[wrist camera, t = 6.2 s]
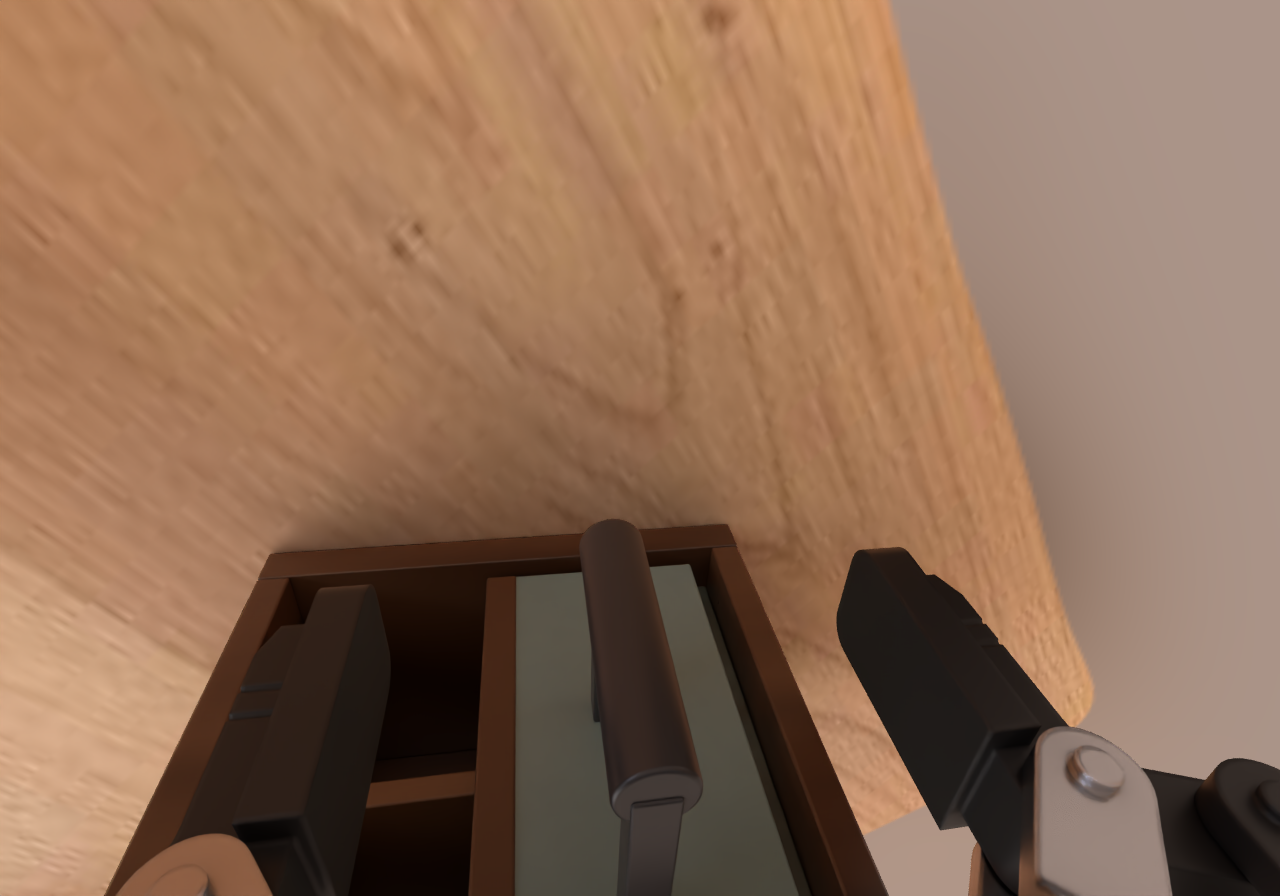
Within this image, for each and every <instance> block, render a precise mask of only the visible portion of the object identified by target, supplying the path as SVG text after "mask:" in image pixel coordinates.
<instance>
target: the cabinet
mask: <svg viewBox="0 0 1280 896" xmlns="http://www.w3.org/2000/svg"><path fill="white" fill-rule="evenodd" d="M639 532H640V533H641V536H642V540H643V544H644V548H645V552H646V556H647V560H648V564H649V567H656V566H670V565H683V564H689V565H690V566H691V569H692V572H693V575H694V578H695V581H696V584H697V587H698V590H699V593H700V597H701V600H702V603H703V606H704V609H705V612H706V615H707V618H708V621H709V624H710V627H711V630H712V633H713V636H714V639H715V642H716V645H717V648H718V651H719V654H720V657H721V660H722V663H723V666H724V669H725V672H726V675H727V678H728V681H729V685H730V688H731V691H732V694H733V697H734V700H735V703H736V706H737V709H738V712H739V715H740V718H741V721H742V724H743V727H744V730H745V733H746V736H747V739H748V742H749V745H750V748H751V751H752V754H753V757H754V760H755V763H756V766H757V769H758V773H759V776H760V779H761V782H762V785H763V788H764V791H765V794H766V797H767V800H768V803H769V806H770V809H771V812H772V815H773V818H774V821H775V824H776V827H777V830H778V833H779V836H780V839H781V842H782V845H783V848H784V851H785V854H786V857H787V861H788V864H789V867H790V870H791V873H792V876H793V879H794V882H795V885H796V888H797V891H798V894H799V896H889V895H888V893H887V890H886V888H885V885H884V883H883V881H882V879H881V876H880V874H879V872H878V870H877V867H876V865H875V863H874V860H873V858H872V856H871V853H870V851H869V849H868V846H867V844H866V842H865V840H864V837H863V835H862V833H861V830H860V828H859V826H858V823H857V821H856V819H855V817H854V814H853V812H852V810H851V807H850V805H849V803H848V800H847V798H846V796H845V794H844V791H843V789H842V787H841V784H840V782H839V780H838V777H837V775H836V773H835V771H834V768H833V766H832V764H831V761H830V759H829V757H828V754H827V752H826V750H825V748H824V745H823V743H822V741H821V738H820V736H819V734H818V731H817V729H816V727H815V725H814V722H813V720H812V718H811V715H810V713H809V711H808V709H807V706H806V704H805V702H804V699H803V697H802V695H801V692H800V690H799V688H798V686H797V683H796V681H795V679H794V676H793V674H792V672H791V669H790V667H789V665H788V663H787V660H786V658H785V656H784V653H783V651H782V649H781V646H780V644H779V642H778V640H777V637H776V635H775V633H774V630H773V628H772V626H771V623H770V621H769V619H768V617H767V614H766V612H765V610H764V607H763V605H762V603H761V600H760V598H759V596H758V594H757V591H756V589H755V587H754V584H753V582H752V580H751V577H750V575H749V573H748V571H747V568H746V566H745V564H744V561H743V559H742V557H741V554H740V552H739V550H738V548H737V544H736V542H735V540H734V537H733V535H732V533H731V530H730V528H729V526H728V525H727V524H725V525H710V526H694V527H679V528H664V529H648V530H639ZM582 536H583V534H571V535H556V536H540V537H525V538H509V539H494V540H479V541H463V542H448V543H432V544H417V545H402V546H386V547H371V548H355V549H340V550H325V551H309V552H294V553H278V554H270V555H269V557H268V559H267V561H266V563H265V565H264V567H263V569H262V571H261V573H260V575H259V577H258V581H257V582H256V584H255V587H254V589H253V591H252V593H251V595H250V597H249V599H248V601H247V603H246V605H245V607H244V609H243V611H242V613H241V615H240V617H239V619H238V621H237V624H236V626H235V628H234V630H233V632H232V634H231V636H230V638H229V640H228V642H227V644H226V646H225V648H224V650H223V652H222V654H221V656H220V658H219V660H218V663H217V665H216V667H215V669H214V671H213V673H212V675H211V677H210V679H209V681H208V683H207V685H206V687H205V689H204V691H203V693H202V695H201V697H200V700H199V702H198V704H197V706H196V708H195V710H194V712H193V714H192V716H191V718H190V720H189V722H188V724H187V726H186V728H185V730H184V732H183V734H182V737H181V739H180V741H179V743H178V745H177V747H176V749H175V751H174V753H173V755H172V757H171V759H170V761H169V763H168V765H167V767H166V769H165V771H164V774H163V776H162V778H161V780H160V782H159V784H158V786H157V788H156V790H155V792H154V794H153V796H152V798H151V800H150V802H149V804H148V806H147V808H146V811H145V813H144V815H143V817H142V819H141V821H140V823H139V825H138V827H137V829H136V831H135V833H134V835H133V837H132V839H131V841H130V843H129V845H128V847H127V850H126V852H125V854H124V856H123V858H122V860H121V862H120V864H119V866H118V868H117V870H116V872H115V874H114V876H113V878H112V880H111V882H110V884H109V887H108V889H107V891H106V893H105V895H104V896H116V895H117V893H118V892H119V891H120V889H121V888H122V887H123V885H124V884H125V883H126V882H127V881H128V880H129V879H130V877H131V876H132V875H133V874H134V873H135V872H136V871H137V870H138V869H140V868H141V867H142V866H143V865H144V864H145V863H146V862H148V861H149V860H150V859H152V858H153V857H154V856H156V855H157V854H159V853H160V852H162V851H163V850H165V849H167V848H168V847H169V846H170V844H171V843H172V841H173V840H174V838H175V836H176V834H177V832H178V830H179V828H180V826H181V824H182V821H183V819H184V817H185V814H186V812H187V810H188V807H189V805H190V803H191V801H192V798H193V796H194V794H195V791H196V789H197V787H198V784H199V782H200V780H201V777H202V775H203V773H204V770H205V768H206V766H207V764H208V761H209V759H210V757H211V754H212V752H213V750H214V747H215V745H216V743H217V740H218V738H219V736H220V733H221V731H222V729H223V727H224V724H225V722H226V721H228V720H229V713H230V710H231V708H232V706H233V703H234V701H235V699H236V696H237V694H239V693H240V692H241V685H242V683H243V680H244V678H245V676H246V673H247V671H248V669H249V666H250V664H251V662H252V659H253V657H254V655H255V654H256V653H257V652H258V651H259V649H260V648H261V647H262V646H263V645H264V644H265V643H266V642H267V641H268V640H269V639H270V638H271V637H272V636H273V634H274V633H275V632H276V631H277V630H278V629H279V628H280V627H281V626H287V625H299V624H305V622H306V619H307V617H308V614H309V611H310V608H311V606H312V603H313V600H314V598H315V595H316V593H317V592H318V590H319V589H321V588H328V587H342V586H356V585H369V584H371V585H373V586H374V588H375V590H376V594H377V598H378V602H379V607H380V611H381V616H382V620H383V624H384V629H385V633H386V638H387V642H388V647H389V651H390V661H391V678H390V688H389V694H388V699H387V704H386V709H385V714H384V719H383V724H382V729H381V734H380V739H379V744H378V749H377V754H376V759H375V764H374V769H373V774H372V779H371V784H370V789H369V794H368V799H367V804H366V809H365V814H364V819H363V824H362V829H361V834H360V839H359V844H358V849H357V854H356V859H355V864H354V869H353V874H352V879H351V884H350V889H349V894H348V896H468V891H469V874H470V857H471V840H472V823H473V806H474V789H475V773H476V756H477V739H478V722H479V705H480V688H481V671H482V654H483V637H484V620H485V603H486V586H487V579H488V578H492V577H506V576H516V577H521V576H535V575H548V574H562V573H575V572H582V567H581V559H580V551H579V544H580V540H581V538H582Z"/></svg>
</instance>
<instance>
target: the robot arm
mask: <svg viewBox="0 0 1280 896" xmlns="http://www.w3.org/2000/svg"><path fill="white" fill-rule="evenodd" d="M837 632H838V637H839V640H840V643H841V646H842V648H843V650H844V652H845V654H846V656H847V658H848V660H849V661H850V663H851V665H852V667H853V669H854V671H855V673H856V674H857V676H858V678H859V680H860V682H861V684H862V686H863V687H864V689H865V691H866V693H867V695H868V697H869V699H870V701H871V702H872V704H873V706H874V708H875V710H876V712H877V714H878V715H879V717H880V719H881V721H882V723H883V725H884V727H885V729H886V730H887V732H888V734H889V736H890V738H891V740H892V742H893V743H894V745H895V747H896V749H897V751H898V753H899V755H900V756H901V758H902V760H903V762H904V764H905V766H906V768H907V770H908V771H909V773H910V775H911V777H912V779H913V781H914V783H915V784H916V786H917V788H918V790H919V792H920V794H921V796H922V797H923V799H924V801H925V803H926V805H927V807H928V809H929V810H930V812H931V814H932V816H933V818H934V820H935V822H936V823H937V825H938V827H939V829H940V830H945V829H952V828H958V827H965V826H969V828H970V830H971V832H972V833H973V835H974V837H975V839H976V840H977V843H976V845H975V847H974V849H973V853H972V859H971V870H970V883H969V893H968V896H1280V770H1279V769H1277V768H1275V767H1272V766H1269V765H1267V764H1264V763H1261V762H1257V761H1254V760H1248V759H1243V758H1233V759H1228V760H1225V761H1223V762H1221V763H1220V764H1219V765H1218V766H1217V767H1216V768H1215V769H1214V771H1213V772H1212V773H1211V774H1210V775H1209V776H1208V778H1207V779H1206V780H1202V779H1197V778H1192V777H1186V776H1181V775H1175V774H1170V773H1164V772H1160V771H1155V770H1149V769H1144V768H1141V767H1140V766H1139V765H1138V764H1137V763H1136V762H1135V761H1134V760H1133V759H1132V758H1131V757H1130V756H1129V755H1128V754H1126V753H1125V752H1124V751H1123V750H1122V749H1120V748H1119V747H1117V746H1116V745H1114V744H1113V743H1111V742H1110V741H1108V740H1106V739H1104V738H1103V737H1101V736H1099V735H1096V734H1094V733H1092V732H1089V731H1086V730H1083V729H1079V728H1075V727H1069V726H1068V725H1067V723H1066V722H1065V721H1064V720H1063V719H1062V718H1061V716H1060V715H1059V714H1058V713H1057V711H1056V710H1055V709H1054V708H1053V706H1052V705H1051V704H1050V703H1049V701H1048V700H1047V699H1046V698H1045V697H1044V695H1043V694H1042V693H1041V692H1040V690H1039V689H1038V688H1037V687H1036V685H1035V684H1034V683H1033V682H1032V680H1031V679H1030V678H1029V677H1028V675H1027V674H1026V673H1025V672H1024V670H1023V669H1022V668H1021V667H1020V666H1019V664H1018V663H1017V662H1016V661H1015V659H1014V658H1013V657H1012V656H1011V654H1010V653H1009V652H1008V651H1007V649H1006V648H1005V647H1004V646H1003V645H1000V644H999V643H998V638H997V637H996V636H995V635H994V633H993V632H992V631H991V630H990V628H989V627H988V626H987V625H986V624H983V623H982V618H981V617H980V616H979V615H978V613H977V612H976V611H975V610H974V608H973V607H972V606H971V605H970V604H969V602H968V601H967V600H966V599H965V597H964V596H963V595H962V594H961V593H959V592H958V591H957V590H955V589H954V588H952V587H951V586H950V585H948V584H947V583H946V582H944V581H943V580H941V579H940V578H939V577H937V576H936V575H935V574H933V575H926V574H925V573H924V572H923V570H922V569H921V568H920V566H919V565H918V564H917V562H916V561H915V560H914V559H913V557H912V556H911V555H910V553H909V552H908V551H907V550H905V549H904V548H901V547H893V548H879V549H866V550H859V551H857V552H856V553H855V554H854V556H853V558H852V562H851V565H850V569H849V572H848V576H847V579H846V583H845V586H844V590H843V593H842V597H841V600H840V604H839V607H838V611H837ZM390 678H391V661H390V651H389V647H388V642H387V638H386V633H385V629H384V624H383V620H382V616H381V611H380V607H379V602H378V598H377V594H376V590H375V588H374V586H373V585H371V584H369V585H356V586H342V587H328V588H321V589H319V590H318V592H317V593H316V595H315V598H314V600H313V603H312V606H311V608H310V611H309V614H308V617H307V619H306V622H305V624H299V625H287V626H281V627H280V628H279V629H278V630H277V631H276V632H275V633H274V634H273V636H272V637H271V638H270V639H269V640H268V641H267V642H266V643H265V644H264V645H263V646H262V647H261V648H260V649H259V651H258V652H257V653H256V654H255V655H254V657H253V659H252V662H251V664H250V666H249V669H248V671H247V673H246V676H245V678H244V680H243V683H242V685H241V692H240V693H239V694H237V696H236V699H235V701H234V703H233V706H232V708H231V710H230V713H229V720H228V721H226V722H225V724H224V727H223V729H222V731H221V733H220V736H219V738H218V740H217V743H216V745H215V747H214V750H213V752H212V754H211V757H210V759H209V761H208V764H207V766H206V768H205V770H204V773H203V775H202V777H201V780H200V782H199V784H198V787H197V789H196V791H195V794H194V796H193V798H192V801H191V803H190V805H189V807H188V810H187V812H186V814H185V817H184V819H183V821H182V824H181V826H180V828H179V830H178V832H177V834H176V836H175V838H174V840H173V841H172V843H171V844H170V846H169V847H168V848H167V849H165V850H163V851H162V852H160V853H159V854H157V855H156V856H154V857H153V858H152V859H150V860H149V861H148V862H146V863H145V864H144V865H143V866H142V867H141V868H140V869H138V870H137V871H136V872H135V873H134V874H133V875H132V876H131V877H130V879H129V880H128V881H127V882H126V883H125V884H124V885H123V887H122V888H121V889H120V891H119V892H118V893H117V895H116V896H348V894H349V889H350V884H351V879H352V874H353V869H354V864H355V859H356V854H357V849H358V844H359V839H360V834H361V829H362V824H363V819H364V814H365V809H366V804H367V799H368V794H369V789H370V784H371V779H372V774H373V769H374V764H375V759H376V754H377V749H378V744H379V739H380V734H381V729H382V724H383V719H384V714H385V709H386V704H387V699H388V694H389V688H390Z"/></svg>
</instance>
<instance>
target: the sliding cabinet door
mask: <svg viewBox="0 0 1280 896" xmlns="http://www.w3.org/2000/svg"><path fill="white" fill-rule="evenodd" d="M579 551H580V559H581V567H582V572H575V573H562V574H548V575H535V576H521V577H516V576H506V577H492V578H488V579H487V586H486V603H485V620H484V637H483V654H482V671H481V688H480V705H479V722H478V739H477V756H476V773H475V789H474V806H473V823H472V840H471V857H470V874H469V891H468V896H799V894H798V891H797V888H796V885H795V882H794V879H793V876H792V873H791V870H790V867H789V864H788V861H787V857H786V854H785V851H784V848H783V845H782V842H781V839H780V836H779V833H778V830H777V827H776V824H775V821H774V818H773V815H772V812H771V809H770V806H769V803H768V800H767V797H766V794H765V791H764V788H763V785H762V782H761V779H760V776H759V773H758V769H757V766H756V763H755V760H754V757H753V754H752V751H751V748H750V745H749V742H748V739H747V736H746V733H745V730H744V727H743V724H742V721H741V718H740V715H739V712H738V709H737V706H736V703H735V700H734V697H733V694H732V691H731V688H730V685H729V681H728V678H727V675H726V672H725V669H724V666H723V663H722V660H721V657H720V654H719V651H718V648H717V645H716V642H715V639H714V636H713V633H712V630H711V627H710V624H709V621H708V618H707V615H706V612H705V609H704V606H703V603H702V600H701V597H700V593H699V590H698V587H697V584H696V581H695V578H694V575H693V572H692V569H691V566H690V565H689V564H683V565H670V566H656V567H649V564H648V560H647V556H646V552H645V548H644V544H643V540H642V536H641V533H640V532H639V530H638V529H637V528H636V527H635V526H634V525H632V524H631V523H629V522H627V521H624V520H620V519H607V520H603V521H600V522H597V523H595V524H594V525H592V526H591V527H589V528H588V529H587V530H586V532H585V533H584V534H583V536H582V538H581V540H580V544H579Z"/></svg>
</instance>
